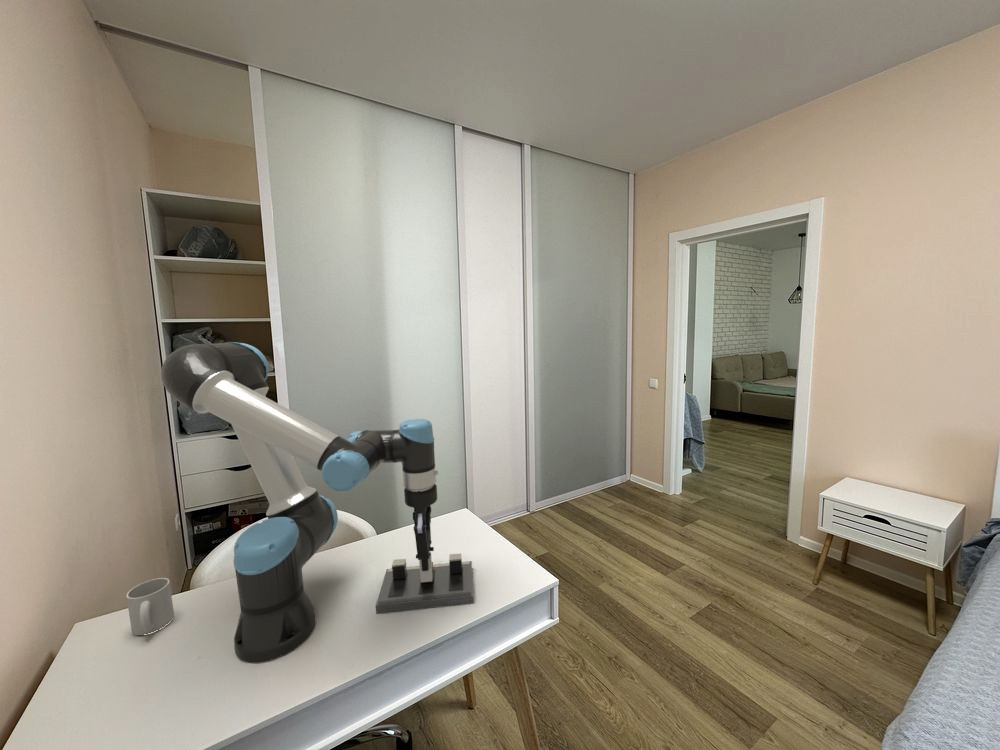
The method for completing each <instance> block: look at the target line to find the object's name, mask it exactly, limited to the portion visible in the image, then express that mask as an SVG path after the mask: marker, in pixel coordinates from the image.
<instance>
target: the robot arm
mask: <svg viewBox="0 0 1000 750" xmlns="http://www.w3.org/2000/svg"><path fill="white" fill-rule="evenodd" d="M269 372H270V369H269V363H268V360H267V358H266V356H265V355H264V354H263V353H262V351H260V350H259V349H258V348H257V347H255V346H253V345H250V344H248V343H245V342H244V343H243V342H237V341H235V342H234V341H226V342H221V343H218V342H217V343H195V344H188V345H184V346H183V345H182V346H181V347H178V348H177V349H176V350H174V351H172V352H171V353H170V354H168V356H167V357H166V358H165V360H164V361H163V363H162V367H161V372H160V378H161V382H162V384H163V386H164V388H165V390H166V392H167V393H168V394H169V395H170V396H171V397H172V398H173V399H175V400H176V401H178V403H180V404H181V405H183V406H185V407H187V408H188V409H190V410H192V411H194V412H196V413H198V414H207V413H210V414H212V415H214V416H216V417H218V418H220V419H222V420H224V421H225V422H227V423H229V424H231V427H232V428H233V430H234V433H235V435H236V437H237V438H238V441H239V443H240V445H241V448H242V449H243V452H244V453H245V456H246V458H247V460H248V462H249V464H250V466H251V469H252V470H253V472H254V474H255V476H256V479H257V481H258V483H259V484H260V487H261V489H262V491H263V493H264V494H265V497H266V499H267V501H268V503H269V506H268V508H267V510H266V513H265V515H266V517H267V519H264V520H262V521H261V522H259V523H258V522H257V523H255V524H253V525H252V526H250V527H248V528H247V529H245V530H244V531H243V532H242V533H241V534H240V535H239V536H238V537H237V538H236V541H235V543H234V547H233V554H234V555H233V565H234V569H235V571H234V572H235V578H236V585H237V592H238V598H239V599H238V600H239V605H240V606H239V607H240V612H239V613H240V614H239V616H238V617H239V618H238V622H237V625H236V629H235V633H234V637H233V646H234V651H235V655H236V657H237V658H238V659H239V660H241V661H243V662H247V663H264V662H269V661H272V660H275V659H277V658H281V657H282V656H285V655H287V654H288V653H290V652H292V651H294V650H295V649H297V648H299V647H300V646H301V645H302V644H303V643H305V641H306V640H307V639H308V638H309V637H310V636H311V635H312V633H314V630H315V627H316V624H317V616H316V611H315V610H316V609H315V608H314V605H313V604H312V602H311V600H310V598H309V596H308V595H307V593H306V591H305V588H304V581H303V580H304V577H303V567H304V566H305V565H306V564H307V563H308V561H310V560H311V558H312V557H313V556H314V555H315V554H316V553H317V552H318V551H319V550H320V549H321V548H322V547H323V546H324V545H325V544H327V542H328V541H329V540H330V538H331V537H332V536H333V534H334V533H335V530H336V529H337V525H338V520H339V517H338V511H337V510H338V509H337V508H336V506H335V504H334V503H333V501H332V500H331V499H329V498H325V496H324V495H320V493H319V492H318V490H317V489H316V488H315V487H312V486H309V485H308V484H307V483H306V481H305V479H304V477H303V475H302V472H301V471H300V468H299V466H298V464H297V462H296V460H295V458H296V459H298V460H299V461H302V462H304V463H306V464H307V465H309V466H311V467H312V468H314V469H316V470H319V471H320V472H321V476H322V479H323V481H324V482H325V484H326V485H327V487H329V488H330V489H331V490H334V491H336V492H347V491H350V490H352V489H354V488H356V487H357V486H359V485H360V484H362V483H363V482H364V480H365V479H367V478H368V476H369V475H371V473H372V472H373V471H375V469H377V468H378V467H379V466H380V465H381V464H390V463H391V464H393V463H394V464H395V463H396V464H397V463H401V465H402V469H401V470H402V482H403V483H402V485H403V487H404V488H403V489H404V490H403V493H404V494H403V495H404V504H405V505H406V506H407V507H410V508H413V512H412V520H413V522H414V525H413V531H414V538H415V545H416V554H415V559H417V560H418V561H419V566H420V579H421V582H431V581H432V579H433V575H432V562H433V561H432V552H435V551H434V548H435V547H434V546H431V545H432V532H431V529H432V528H431V523H432V520H431V519H432V518H431V517H432V516H431V514H432V506H431V505H434V504H435V503H436V502H437V500H438V485H437V475H439V471H438V470H436V460H435V459H436V458H435V436H434V429H433V424H432V422H431V421H430V420H429V419H426V418H425V419H424V418H414V419H407V420H403V421H401V422H400V423H399V428H398V429H393V430H392V429H385V430H384V429H382V430H381V429H379V430H378V429H375V430H374V429H371V430H369V429H364V430H357V431H356V430H355V431H353V432H352V433H350V434H349V437H348V438H347V439H345V438H344V437H342V436H339V435H338V434H336V433H334V432H333V431H331V430H329V429H326V428H325V427H322V426H320V425H319V424H318V423H315V422H313V421H311V420H310V419H307V418H305V417H304V416H302V415H300V414H298V413H297V412H295V411H292V410H291V409H290V408H287V407H285V406H283V405H281V404H279V403H278V402H275V401H274V400H272V399H270V398H268V397H267V396H266V395H267V394H268V391H269V386H268V384H267V381H266V380H267V379H268V373H269Z"/></svg>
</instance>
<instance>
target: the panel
mask: <svg viewBox="0 0 1000 750" xmlns="http://www.w3.org/2000/svg"><path fill="white" fill-rule="evenodd" d="M448 556H449V557H448V562H447V563H446V562H445V563H438V564H433V569H434V580H433V582H427V583H421V579H420V565H418V566H407V558H400V559H399V558H398V559H397V558H396V559H393V560H392V564H391V568H387V569H386V570H385V572H384V573H385V574H384V577H383V580H382V582H381V583H382V584H381V586H380V589H379V594H378V596H377V599H376V603H375V615H378V614H390V613H397V612H398V613H399V612H406V611H407V612H408V611H416V610H426V609H435V608H446V607H455V606H456V607H457V606H465V605H473V604H475V603H474V600H475V599H474V590H473V589H474V586H473V584H474V582H473V568H472V567H473V565H472V564H473V563H472V560H466V561H463V560H462V558H463V557H462V553H452V554H449V555H448Z"/></svg>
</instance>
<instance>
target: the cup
mask: <svg viewBox="0 0 1000 750" xmlns="http://www.w3.org/2000/svg"><path fill="white" fill-rule="evenodd" d="M170 584H171V583H170V579H169V578H167V577H158V578H153V579H150V580H146V581H144V582H141V583H139V584H137V585H135V586H134V587H132V588H131V589H130V590H129V591H128V592H127V593H126V597H125V598H126V603H127V610H128V615H129V621H130V628H131V632H132V634H133V635H134V636H136V635H144V634H148V633H151V632H154V631H156V630H159V629H160V628H162V627H164V626H165V625H166V624H168V623H169V622H170V621H171V620H172V618H173V617H174V618H175V611H174V603H173V598H172V597H173V596H172V589H171V585H170ZM174 618H173V619H174ZM172 621H173V620H172ZM172 621H171V622H172Z"/></svg>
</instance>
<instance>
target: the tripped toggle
mask: <svg viewBox="0 0 1000 750" xmlns="http://www.w3.org/2000/svg"><path fill="white" fill-rule="evenodd" d="M433 565H434V562H433V561H432V575H433V579H432V581H431V582H433V580H434V569H433ZM421 583H427V582H421Z"/></svg>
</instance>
